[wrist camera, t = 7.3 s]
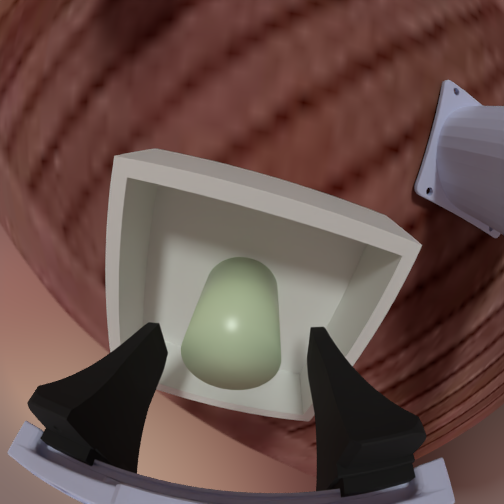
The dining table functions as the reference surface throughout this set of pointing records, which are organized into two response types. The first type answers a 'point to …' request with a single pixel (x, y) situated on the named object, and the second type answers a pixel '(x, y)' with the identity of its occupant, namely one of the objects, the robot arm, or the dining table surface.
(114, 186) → the bin
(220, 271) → the green cylinder
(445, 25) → the dining table surface
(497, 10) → the dining table surface
